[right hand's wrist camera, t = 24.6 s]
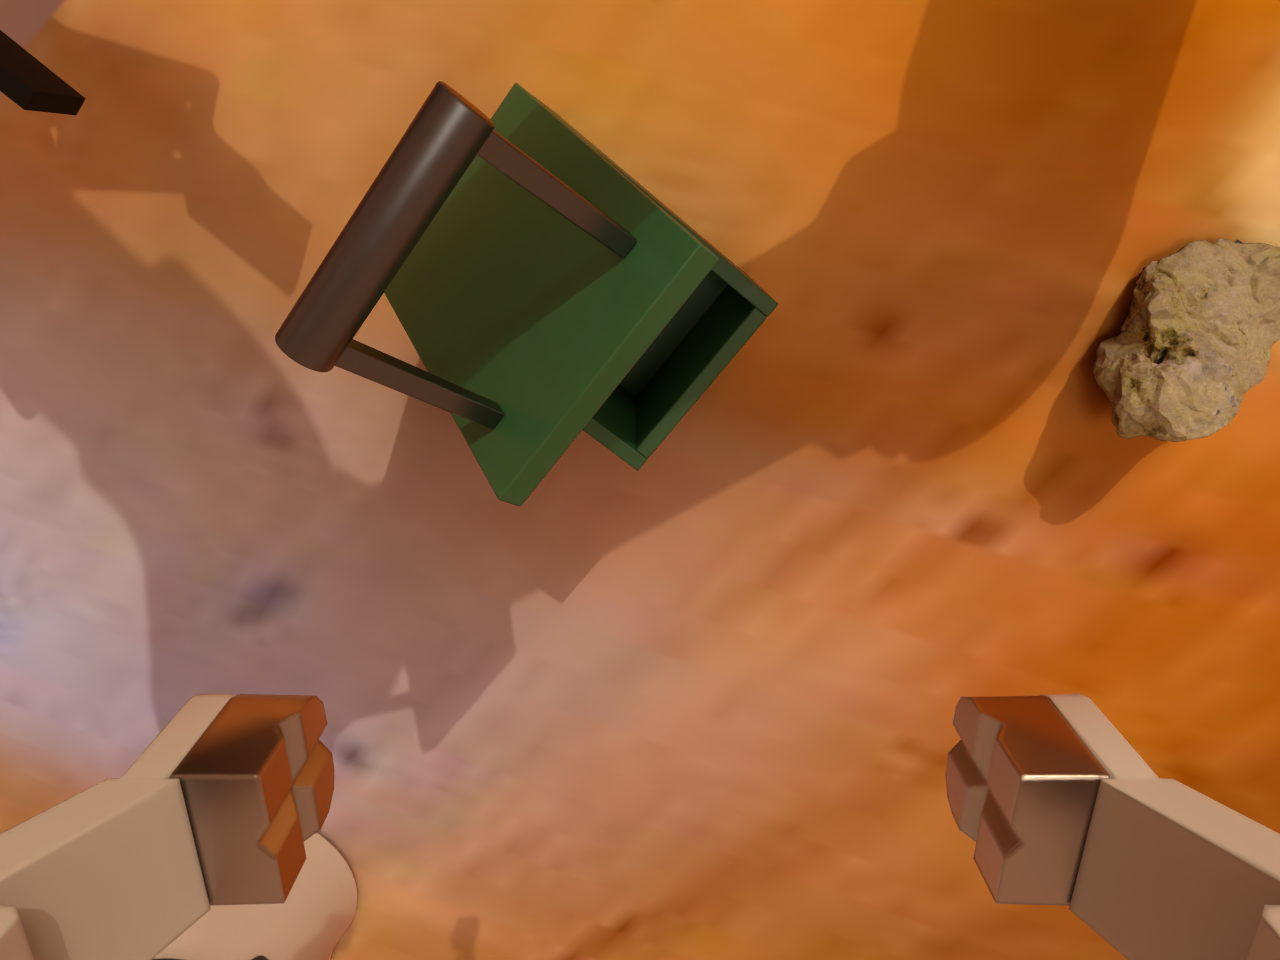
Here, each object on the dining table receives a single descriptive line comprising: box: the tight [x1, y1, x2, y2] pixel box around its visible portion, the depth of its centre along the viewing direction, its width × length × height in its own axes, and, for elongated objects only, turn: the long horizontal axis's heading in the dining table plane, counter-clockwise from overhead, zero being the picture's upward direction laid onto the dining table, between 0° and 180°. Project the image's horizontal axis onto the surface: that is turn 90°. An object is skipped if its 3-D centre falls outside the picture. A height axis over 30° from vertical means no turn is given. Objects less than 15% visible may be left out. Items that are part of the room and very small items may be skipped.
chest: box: [528, 92, 778, 470], centre depth 40 cm, size 13×10×10 cm
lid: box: [275, 81, 718, 506], centre depth 26 cm, size 14×10×8 cm
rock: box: [1092, 239, 1280, 442], centre depth 43 cm, size 11×6×10 cm
